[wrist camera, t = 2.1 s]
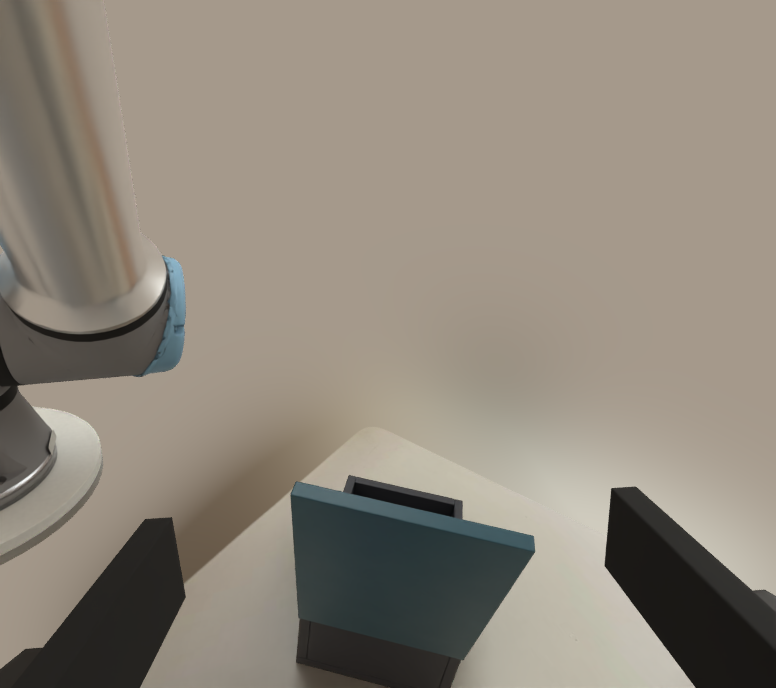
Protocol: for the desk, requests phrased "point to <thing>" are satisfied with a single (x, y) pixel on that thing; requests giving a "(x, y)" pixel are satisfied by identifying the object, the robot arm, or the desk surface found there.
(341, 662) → the case
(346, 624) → the cover
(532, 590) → the desk surface
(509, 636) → the desk surface
